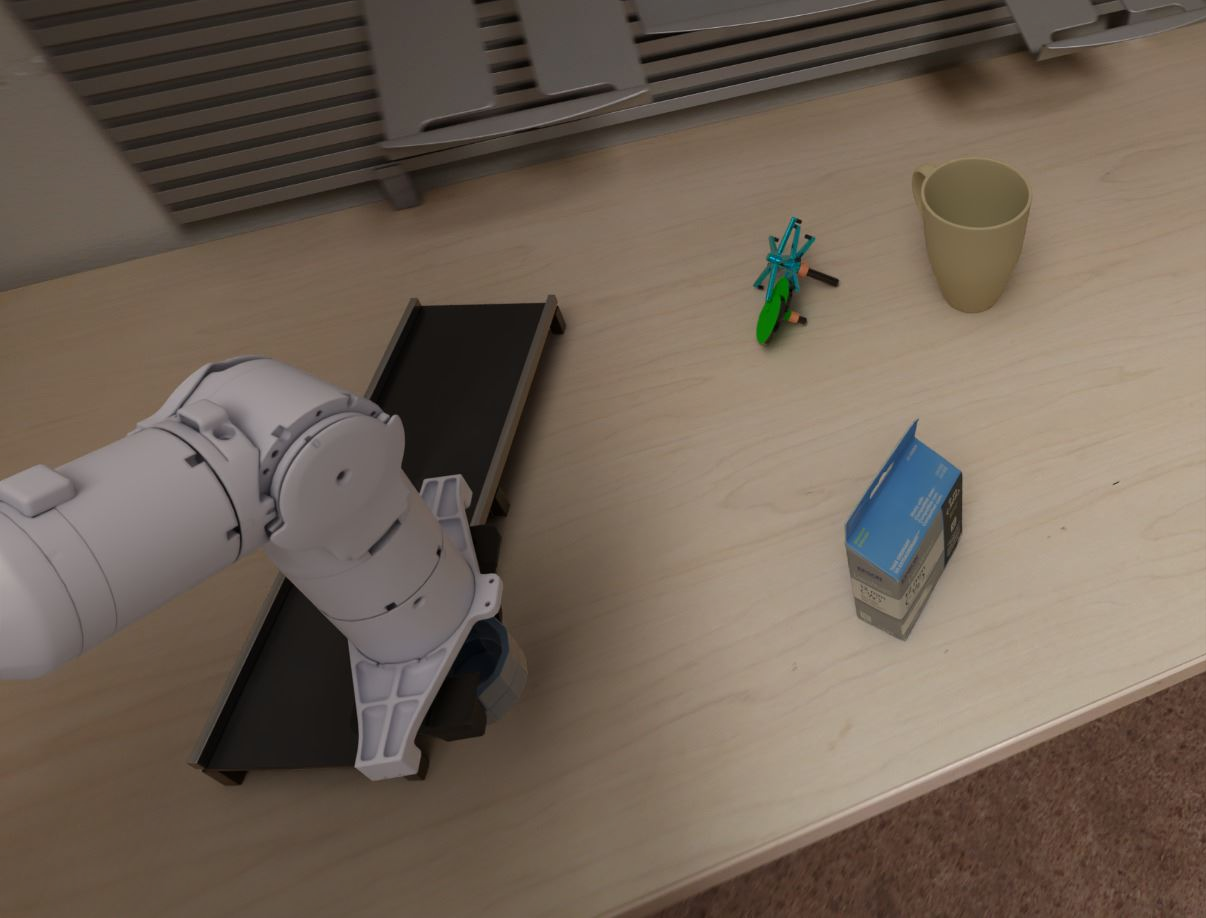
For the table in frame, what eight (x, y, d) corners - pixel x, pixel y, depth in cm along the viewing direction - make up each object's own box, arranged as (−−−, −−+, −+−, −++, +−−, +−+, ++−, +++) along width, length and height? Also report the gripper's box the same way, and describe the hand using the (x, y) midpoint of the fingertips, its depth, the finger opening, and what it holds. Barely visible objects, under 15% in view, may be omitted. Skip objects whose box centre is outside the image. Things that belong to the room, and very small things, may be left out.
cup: (473, 753, 51) (447, 727, 48) (419, 697, 53) (392, 668, 50) (548, 677, 54) (527, 647, 51) (493, 626, 56) (471, 595, 53)
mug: (1029, 259, 87) (1041, 158, 79) (1012, 339, 80) (1023, 237, 72) (915, 240, 89) (914, 139, 81) (888, 316, 82) (884, 215, 74)
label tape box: (904, 645, 62) (901, 554, 53) (851, 615, 63) (840, 522, 54) (963, 536, 67) (970, 438, 58) (913, 512, 69) (912, 412, 60)
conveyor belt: (426, 780, 56) (400, 758, 53) (222, 785, 56) (185, 763, 53) (567, 325, 82) (555, 294, 79) (428, 328, 82) (410, 297, 79)
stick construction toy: (757, 232, 87) (795, 199, 81) (822, 258, 90) (864, 228, 84) (731, 352, 81) (771, 326, 75) (803, 375, 84) (846, 352, 78)
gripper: (436, 710, 38) (532, 810, 48) (492, 418, 48) (562, 548, 58) (253, 740, 37) (387, 835, 47) (349, 437, 48) (443, 565, 57)
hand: (475, 678), depth 52 cm, fingers closed on cup, 5 cm apart
